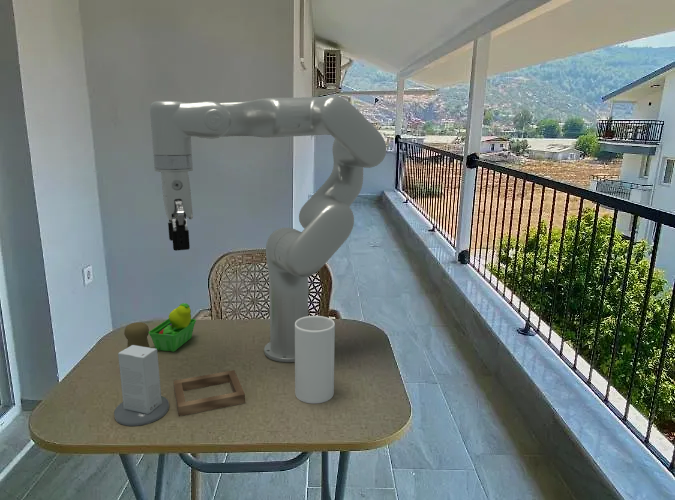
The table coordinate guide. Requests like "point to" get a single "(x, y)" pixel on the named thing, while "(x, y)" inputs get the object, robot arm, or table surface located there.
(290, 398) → the table surface
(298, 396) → the cup
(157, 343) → the fruit basket
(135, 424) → the slate coaster
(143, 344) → the cork
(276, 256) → the robot arm
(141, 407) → the skincare box
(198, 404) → the walnut holder
